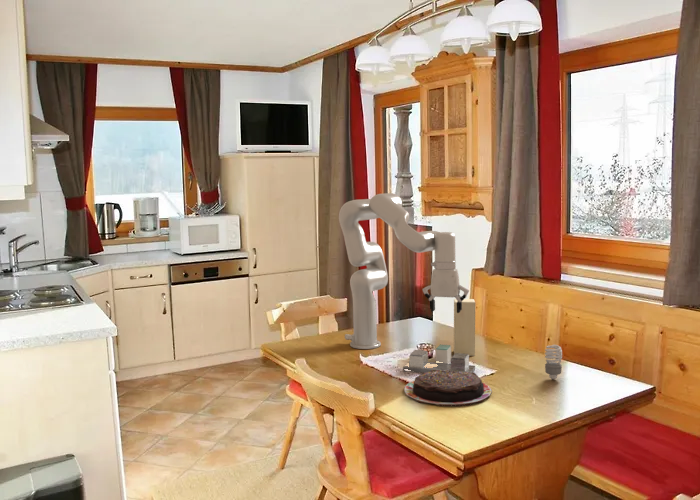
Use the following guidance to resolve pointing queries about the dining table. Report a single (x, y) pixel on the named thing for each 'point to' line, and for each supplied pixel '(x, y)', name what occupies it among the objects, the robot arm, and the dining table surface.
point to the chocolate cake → (448, 388)
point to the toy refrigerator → (464, 327)
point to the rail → (421, 359)
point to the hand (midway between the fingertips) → (445, 311)
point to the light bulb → (553, 361)
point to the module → (443, 353)
